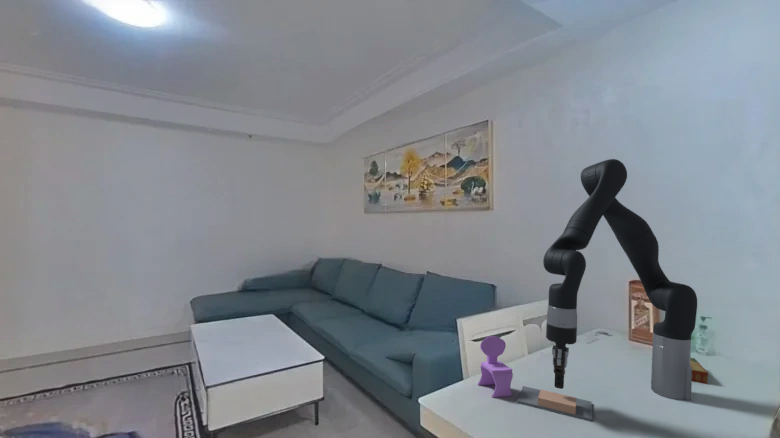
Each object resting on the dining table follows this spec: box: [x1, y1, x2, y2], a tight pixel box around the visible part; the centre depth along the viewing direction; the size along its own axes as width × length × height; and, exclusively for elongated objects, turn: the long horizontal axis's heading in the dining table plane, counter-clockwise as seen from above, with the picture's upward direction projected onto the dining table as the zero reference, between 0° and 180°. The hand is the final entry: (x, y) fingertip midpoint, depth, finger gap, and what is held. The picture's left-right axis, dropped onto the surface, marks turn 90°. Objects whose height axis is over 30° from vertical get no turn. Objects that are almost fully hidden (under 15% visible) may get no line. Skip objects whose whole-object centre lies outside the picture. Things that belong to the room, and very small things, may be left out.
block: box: [538, 389, 577, 415], centre depth 101 cm, size 9×2×6 cm
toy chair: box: [477, 335, 514, 398], centre depth 110 cm, size 8×9×15 cm
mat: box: [516, 385, 593, 422], centre depth 104 cm, size 18×11×1 cm, turn 63°
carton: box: [690, 357, 709, 385], centre depth 131 cm, size 8×16×4 cm, turn 153°
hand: (559, 387), depth 102 cm, fingers closed
